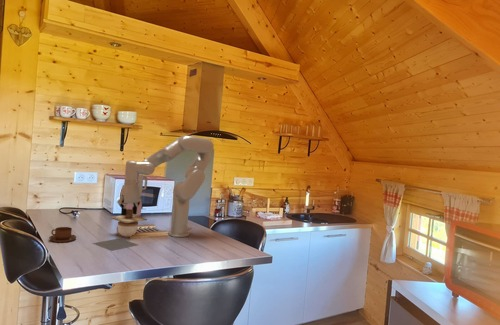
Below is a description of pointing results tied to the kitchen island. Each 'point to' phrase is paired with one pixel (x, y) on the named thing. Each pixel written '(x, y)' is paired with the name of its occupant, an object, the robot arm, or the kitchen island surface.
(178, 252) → the kitchen island surface
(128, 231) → the lidded jar
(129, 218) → the birch lid
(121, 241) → the rubber mat
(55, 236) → the cup and saucer
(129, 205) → the blender
